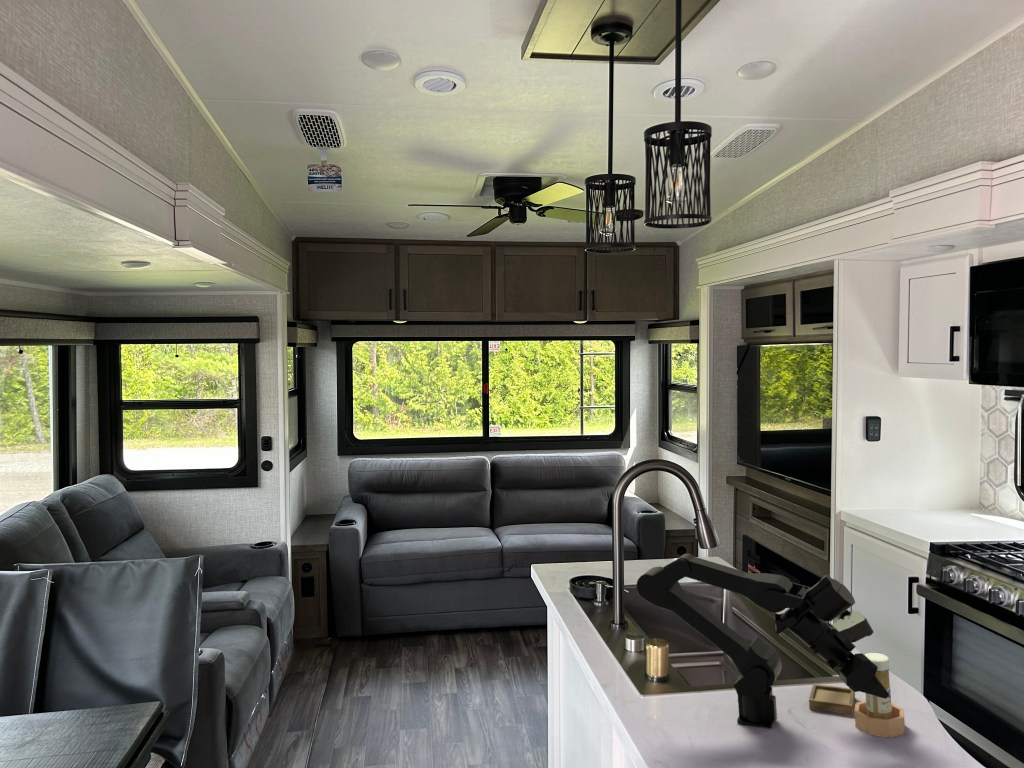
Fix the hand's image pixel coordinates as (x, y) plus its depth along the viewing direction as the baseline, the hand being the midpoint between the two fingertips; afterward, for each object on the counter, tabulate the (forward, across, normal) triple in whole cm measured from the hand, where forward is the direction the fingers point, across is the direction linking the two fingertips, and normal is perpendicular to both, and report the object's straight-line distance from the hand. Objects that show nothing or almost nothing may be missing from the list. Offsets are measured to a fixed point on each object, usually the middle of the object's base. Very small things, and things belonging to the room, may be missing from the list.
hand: (876, 685), depth 143 cm
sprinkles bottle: (+6, 0, +6) cm, 8 cm away
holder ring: (+6, 0, +5) cm, 8 cm away
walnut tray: (+2, +10, +9) cm, 14 cm away
